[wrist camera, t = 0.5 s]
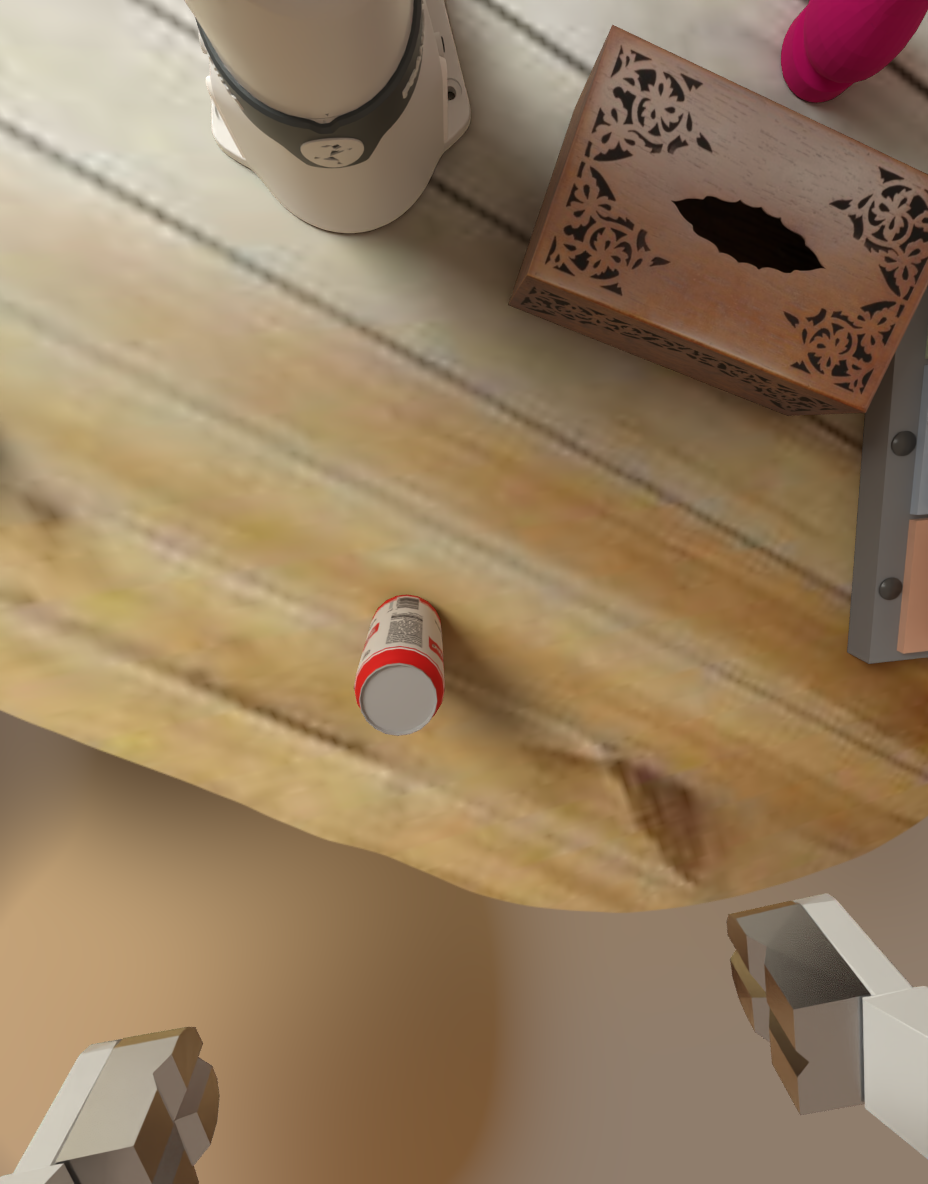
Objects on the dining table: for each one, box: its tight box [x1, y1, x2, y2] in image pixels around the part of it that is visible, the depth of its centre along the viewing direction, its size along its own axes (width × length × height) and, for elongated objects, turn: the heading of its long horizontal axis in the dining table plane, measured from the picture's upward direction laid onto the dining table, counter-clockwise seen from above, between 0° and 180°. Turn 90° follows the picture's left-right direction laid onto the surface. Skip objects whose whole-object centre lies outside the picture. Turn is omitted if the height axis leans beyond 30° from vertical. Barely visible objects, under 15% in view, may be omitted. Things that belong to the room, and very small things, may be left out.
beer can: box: [354, 595, 445, 736], centre depth 48 cm, size 6×6×16 cm
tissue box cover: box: [508, 25, 928, 416], centre depth 45 cm, size 26×14×10 cm, turn 71°
